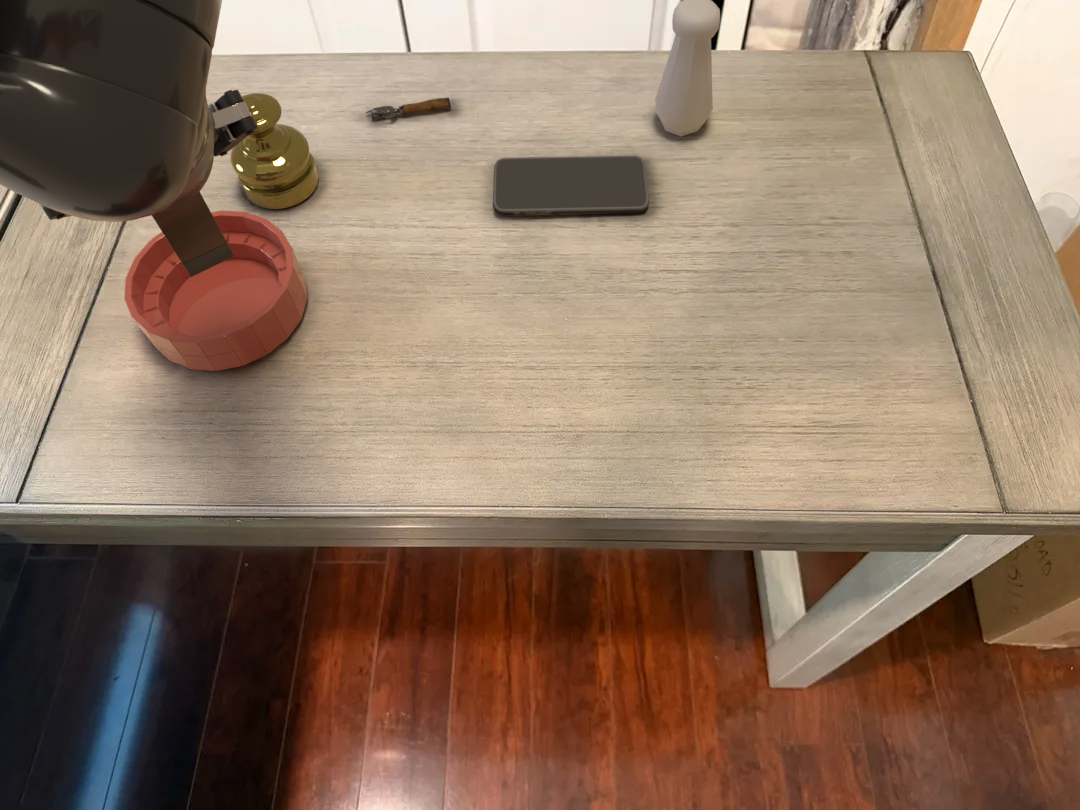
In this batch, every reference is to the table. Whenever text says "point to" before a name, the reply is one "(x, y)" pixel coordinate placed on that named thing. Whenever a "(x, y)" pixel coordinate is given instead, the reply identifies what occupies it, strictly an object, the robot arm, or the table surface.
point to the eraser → (194, 235)
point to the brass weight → (273, 158)
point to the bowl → (219, 296)
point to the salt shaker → (688, 68)
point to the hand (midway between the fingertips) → (156, 171)
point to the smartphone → (570, 185)
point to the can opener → (412, 108)
